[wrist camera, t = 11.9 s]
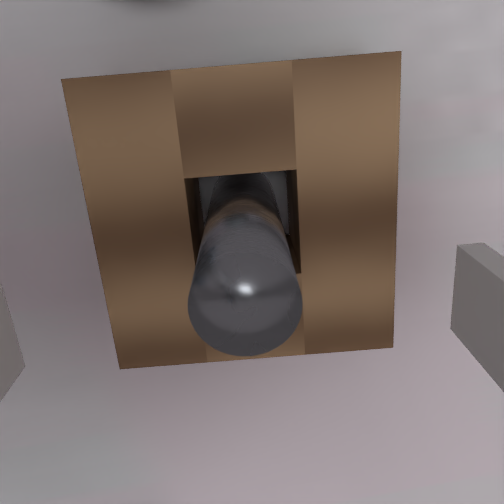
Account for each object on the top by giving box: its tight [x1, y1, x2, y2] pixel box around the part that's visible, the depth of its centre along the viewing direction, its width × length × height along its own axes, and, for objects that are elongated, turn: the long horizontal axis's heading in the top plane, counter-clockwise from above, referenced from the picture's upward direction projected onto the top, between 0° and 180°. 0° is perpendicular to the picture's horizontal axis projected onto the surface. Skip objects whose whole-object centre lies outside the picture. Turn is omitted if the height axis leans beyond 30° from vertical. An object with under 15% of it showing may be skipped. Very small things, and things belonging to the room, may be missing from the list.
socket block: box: [61, 51, 401, 369], centre depth 25 cm, size 14×14×6 cm
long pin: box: [187, 172, 303, 356], centre depth 21 cm, size 4×4×14 cm
